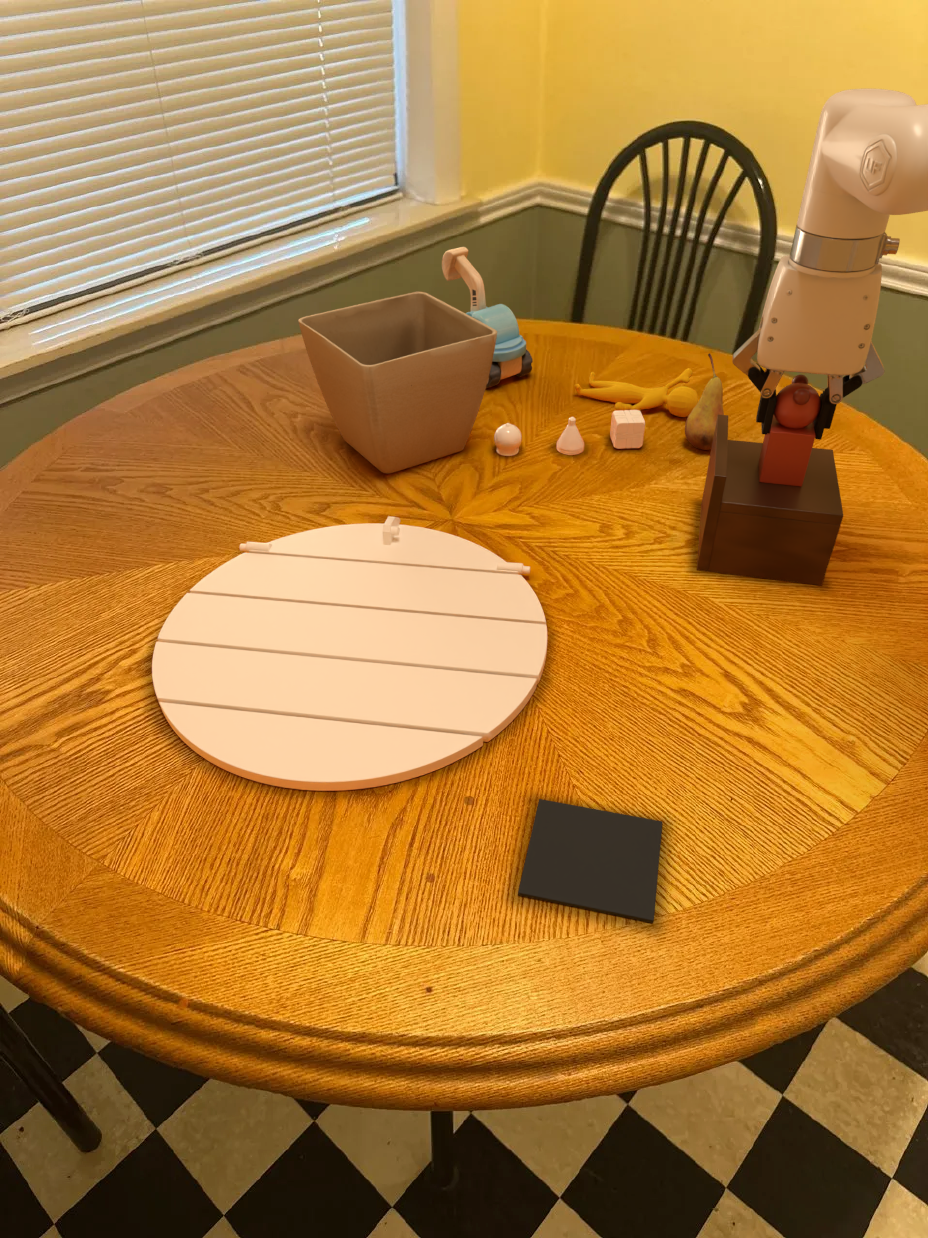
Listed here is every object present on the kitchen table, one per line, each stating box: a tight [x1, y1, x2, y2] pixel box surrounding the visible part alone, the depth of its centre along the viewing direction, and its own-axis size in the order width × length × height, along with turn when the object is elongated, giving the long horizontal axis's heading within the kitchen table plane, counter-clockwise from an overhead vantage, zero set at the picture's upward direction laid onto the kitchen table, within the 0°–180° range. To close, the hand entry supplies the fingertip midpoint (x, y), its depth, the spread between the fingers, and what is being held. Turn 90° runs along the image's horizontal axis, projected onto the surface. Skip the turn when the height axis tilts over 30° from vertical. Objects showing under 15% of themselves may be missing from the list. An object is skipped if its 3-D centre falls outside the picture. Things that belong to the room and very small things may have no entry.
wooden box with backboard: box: [696, 414, 844, 587], centre depth 95 cm, size 13×14×12 cm
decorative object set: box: [493, 410, 646, 457], centre depth 116 cm, size 5×20×4 cm, turn 92°
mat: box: [517, 798, 663, 924], centre depth 67 cm, size 10×9×1 cm
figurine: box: [574, 367, 699, 418], centre depth 126 cm, size 14×5×18 cm
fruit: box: [684, 353, 725, 451], centre depth 113 cm, size 6×6×12 cm
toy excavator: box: [441, 246, 534, 389], centre depth 133 cm, size 9×17×17 cm, turn 34°
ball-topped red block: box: [759, 373, 821, 487], centre depth 90 cm, size 5×5×11 cm
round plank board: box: [151, 515, 548, 792], centre depth 87 cm, size 40×39×3 cm
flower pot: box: [297, 290, 497, 474], centre depth 114 cm, size 19×19×17 cm
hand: (790, 429), depth 90 cm, fingers closed on ball-topped red block, 4 cm apart
